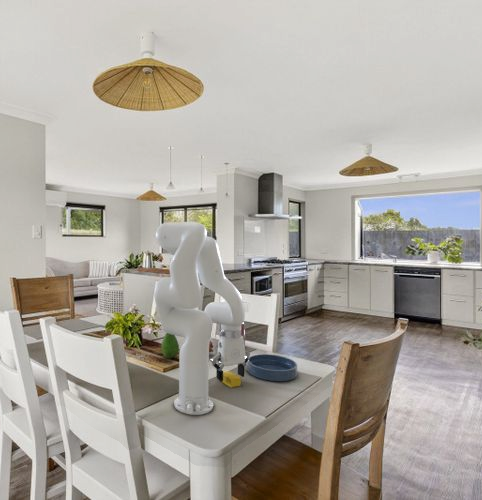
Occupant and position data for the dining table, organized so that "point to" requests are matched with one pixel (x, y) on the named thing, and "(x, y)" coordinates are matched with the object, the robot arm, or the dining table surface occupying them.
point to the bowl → (272, 367)
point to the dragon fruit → (210, 347)
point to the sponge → (231, 379)
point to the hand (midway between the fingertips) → (230, 377)
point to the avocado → (170, 346)
